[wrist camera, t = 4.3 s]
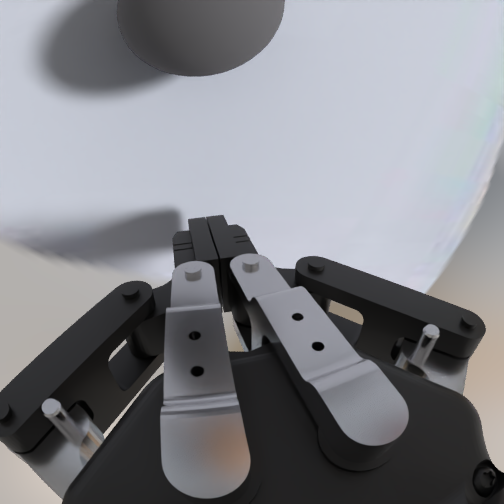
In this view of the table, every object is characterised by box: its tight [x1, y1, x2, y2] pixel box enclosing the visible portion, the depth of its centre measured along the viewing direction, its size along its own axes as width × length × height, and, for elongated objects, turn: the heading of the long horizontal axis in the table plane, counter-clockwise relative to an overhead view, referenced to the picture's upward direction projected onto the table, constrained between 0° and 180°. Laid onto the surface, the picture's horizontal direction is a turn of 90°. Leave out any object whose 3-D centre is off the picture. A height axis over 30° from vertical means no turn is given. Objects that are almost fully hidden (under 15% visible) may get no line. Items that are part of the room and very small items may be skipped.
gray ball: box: [117, 0, 285, 76], centre depth 7 cm, size 6×6×6 cm
